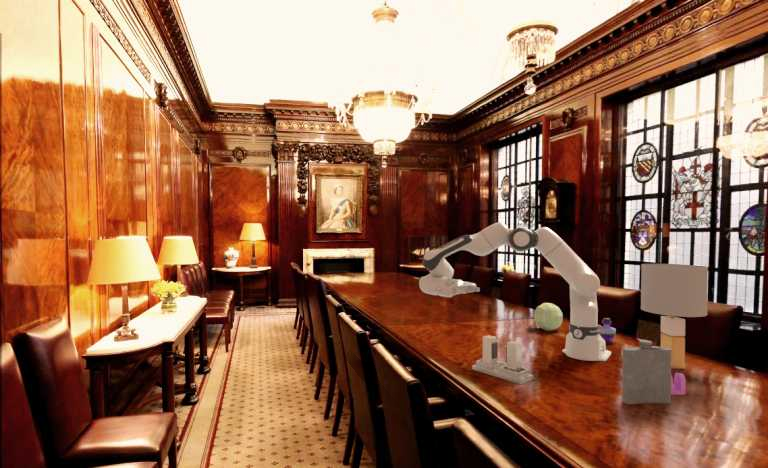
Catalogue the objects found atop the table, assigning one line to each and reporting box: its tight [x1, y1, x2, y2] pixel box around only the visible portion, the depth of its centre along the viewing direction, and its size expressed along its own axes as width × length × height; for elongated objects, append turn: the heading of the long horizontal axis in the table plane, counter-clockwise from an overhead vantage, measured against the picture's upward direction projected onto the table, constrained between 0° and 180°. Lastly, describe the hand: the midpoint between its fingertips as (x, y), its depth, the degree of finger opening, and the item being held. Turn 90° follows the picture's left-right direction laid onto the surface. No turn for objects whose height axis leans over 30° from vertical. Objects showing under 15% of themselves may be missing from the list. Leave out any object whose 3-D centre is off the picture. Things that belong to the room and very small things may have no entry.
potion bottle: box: [599, 317, 617, 344], centre depth 213 cm, size 9×9×12 cm
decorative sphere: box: [533, 302, 564, 332], centre depth 238 cm, size 15×15×15 cm
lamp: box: [640, 263, 709, 370], centre depth 176 cm, size 23×23×42 cm
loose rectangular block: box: [482, 334, 499, 365], centre depth 169 cm, size 4×5×12 cm
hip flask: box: [621, 339, 672, 405], centre depth 139 cm, size 16×4×20 cm, turn 94°
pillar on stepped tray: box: [471, 340, 534, 385], centre depth 165 cm, size 8×22×14 cm, turn 42°
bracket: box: [671, 372, 686, 396], centre depth 151 cm, size 13×6×7 cm, turn 177°
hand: (472, 290), depth 185 cm, fingers open, 8 cm apart
